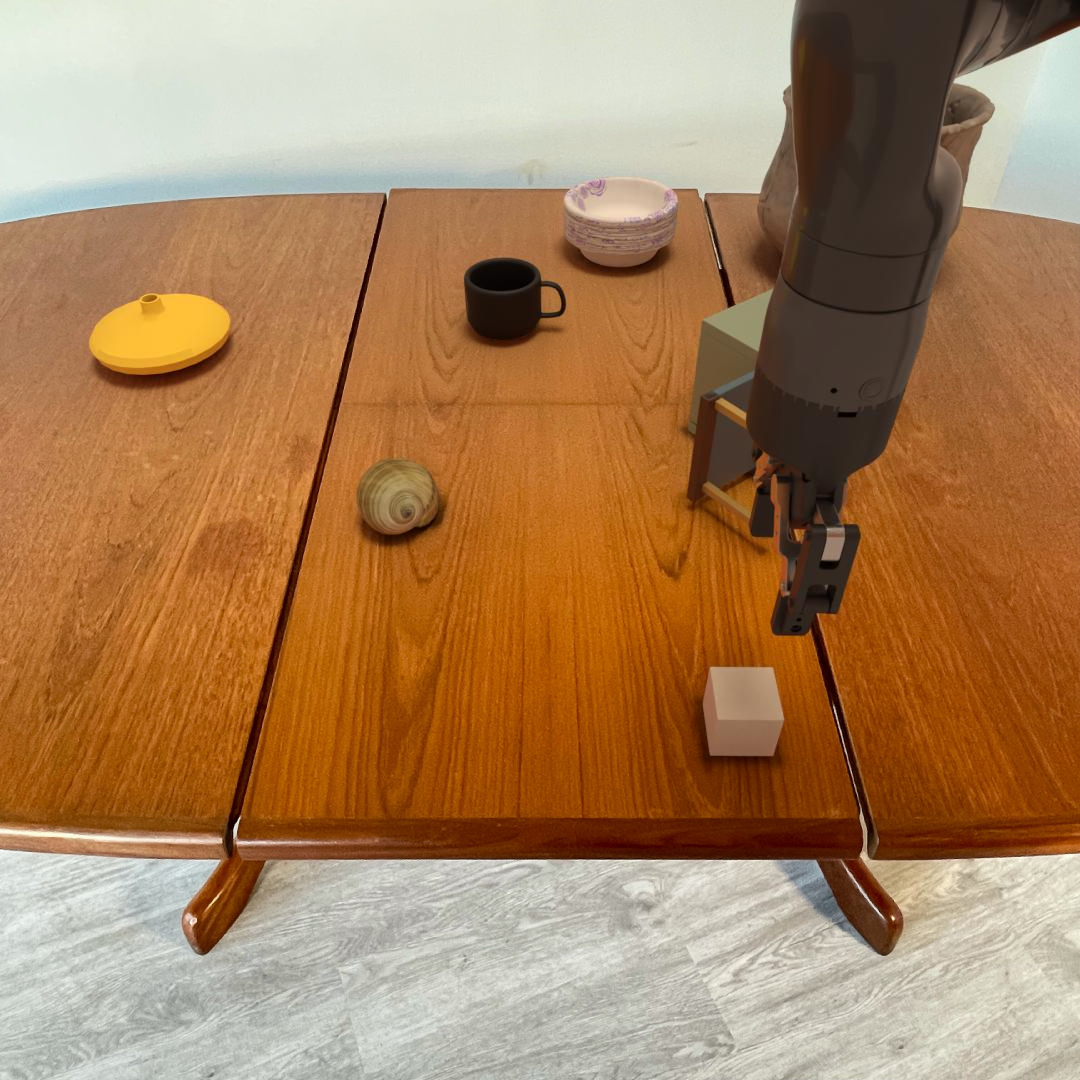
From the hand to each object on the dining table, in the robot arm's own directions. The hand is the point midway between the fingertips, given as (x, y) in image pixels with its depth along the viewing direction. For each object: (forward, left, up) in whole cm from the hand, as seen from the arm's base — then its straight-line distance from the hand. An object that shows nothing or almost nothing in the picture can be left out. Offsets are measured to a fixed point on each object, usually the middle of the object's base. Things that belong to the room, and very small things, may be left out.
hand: (775, 580), depth 56 cm
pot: (-55, -54, -15) cm, 78 cm away
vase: (+30, -73, -15) cm, 80 cm away
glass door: (-18, -19, -14) cm, 29 cm away
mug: (-9, -59, -15) cm, 61 cm away
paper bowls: (-30, -71, -15) cm, 78 cm away
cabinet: (-25, -30, -15) cm, 41 cm away
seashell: (+15, -34, -15) cm, 40 cm away
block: (+1, +1, -15) cm, 15 cm away
